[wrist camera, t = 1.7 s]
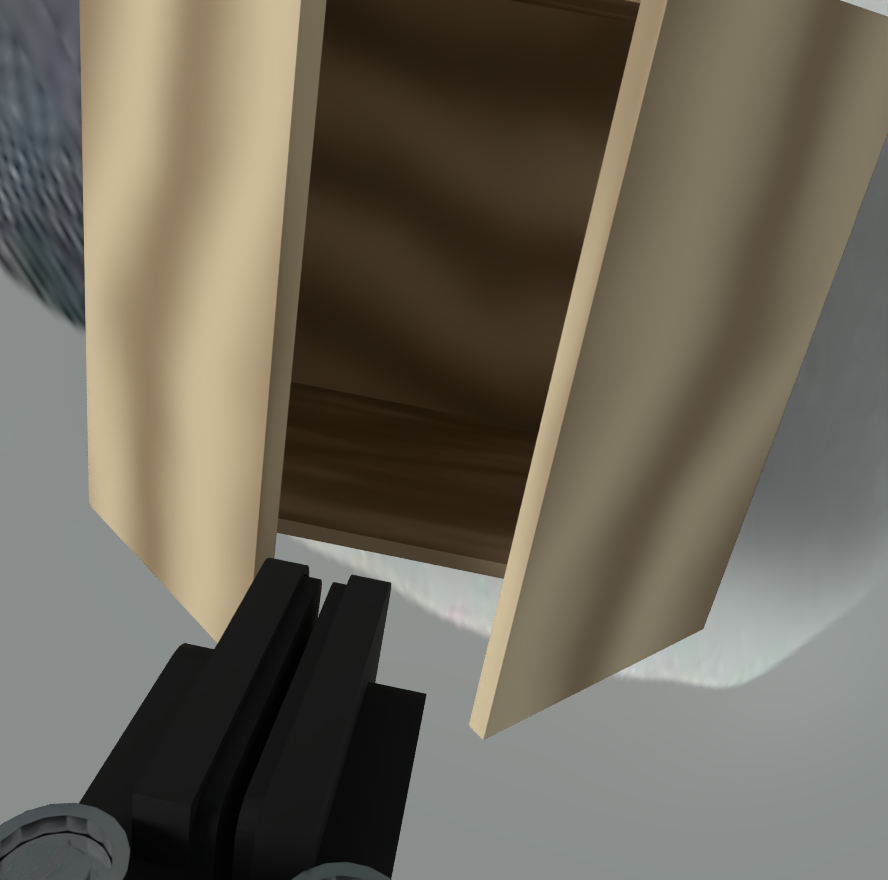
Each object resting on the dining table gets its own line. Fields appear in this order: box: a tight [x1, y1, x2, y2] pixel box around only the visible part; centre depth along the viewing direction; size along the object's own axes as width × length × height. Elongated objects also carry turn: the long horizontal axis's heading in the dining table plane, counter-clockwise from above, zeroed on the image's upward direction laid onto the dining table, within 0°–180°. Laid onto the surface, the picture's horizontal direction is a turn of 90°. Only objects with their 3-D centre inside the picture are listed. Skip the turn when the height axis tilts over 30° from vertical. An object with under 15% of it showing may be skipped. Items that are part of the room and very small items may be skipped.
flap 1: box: [80, 0, 326, 643], centre depth 23 cm, size 10×19×1 cm
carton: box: [277, 0, 641, 579], centre depth 32 cm, size 19×21×13 cm
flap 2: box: [469, 0, 888, 740], centre depth 22 cm, size 10×19×1 cm
